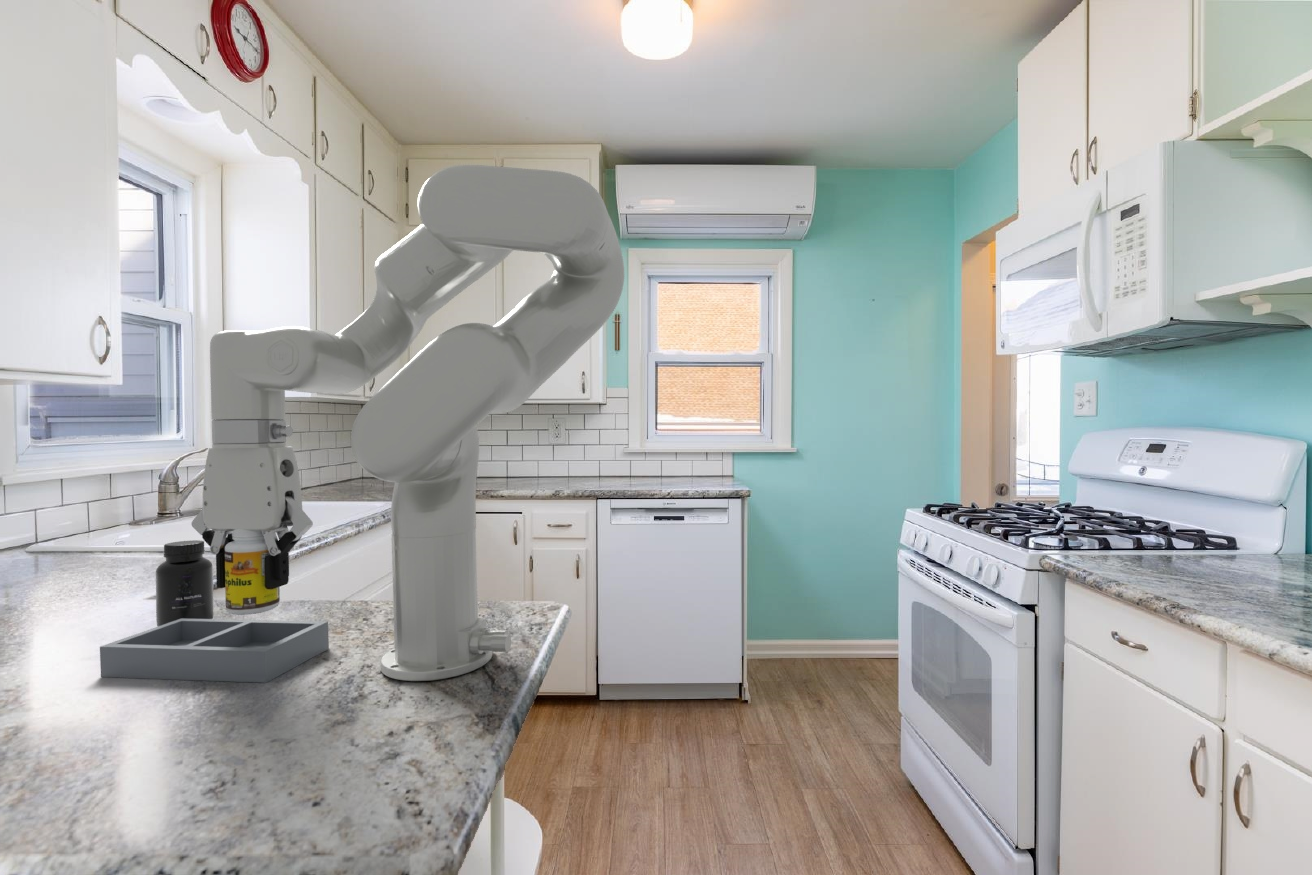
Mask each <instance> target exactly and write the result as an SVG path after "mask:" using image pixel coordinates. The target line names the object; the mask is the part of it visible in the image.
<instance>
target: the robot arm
mask: <svg viewBox="0 0 1312 875" xmlns="http://www.w3.org/2000/svg"><path fill="white" fill-rule="evenodd" d="M417 210H418V216H419V219H420V221H421V224H420V225H419V226H417V227H416V228H415V229H414V230H413V231H411V232H410V233H409V234H407V235H406V236H405V237H403V238H402V239H401V240H399V241H398V242H397V243H396V244H394V245H393V246H391V248H389V249H388V250H386V251H385V252H384V253H382V254H381V255H380V256H379V257H378V258H376V261H375V264H374V274H375V277H376V278H375V279H376V290H375V295H374V298H373V300H372V301H371V303H370V304H369V305H368V307H367V309H365V310H364V311H363V313H362V314H360V315H359V316H358V317H357V318H356V319H354V321H352V322H351V323H350V324H348V325H347V326H346V327H344V328H343V329H341V330H340V331H339V332H337V333H336V334H333V333H331V332H326V331H322V330H318V329H312V328H309V327H305V326H299V325H297V326H296V325H292V326H291V325H289V326H281V327H274V328H270V329H266V330H265V329H264V330H246V329H245V330H242V329H241V330H237V329H235V330H233V329H232V330H223V331H219V332H217V333H216V332H215V334H213V336H212V337H211V338H210V342H209V365H210V366H209V367H210V401H211V402H210V406H211V407H210V410H211V411H210V413H211V415H210V417H211V444H212V445H211V446H212V447H209V448H208V451H207V455H206V460H205V461H206V462H205V466H204V473H203V484H202V486H203V487H202V508H201V510H200V511H199V512H198V514H196V516H195V517H194V519H193V520H192V521H191V526H192V528H193V529H194V530H195V531H196V532H197V533H198V534H199V535H200V536H202V537H201V538H202V539H203V541H204V543H205V542H206V544H207V545H208V546H209V547H210V548H209V551H210V553H211V554H212V555H215V569H216V570H215V574H216V579H215V580H216V588H217V589H223V588H224V589H225V546H226V545H227V544H228V543H229V542H232V541H234V540H233V539H232V537H233V536H232V531H233V530H235V529H244V530H249V531H262V533H263V536H264V539H265V542H266V545H267V548H268V551H269V553H270V555H267V556H265V559H264V564H265V588H266V589H275V588H277V587H283V586H286V585H288V584H289V581H290V580H289V577H290V558H289V557H290V554H289V552H291V551H293V550H294V548H295V546H296V545H297V543H298V542H299V541H300V540H301V538H302V537H303V536H304V535H305V534H306V533H307V532H308V531H309V530H310V529H311V528H312V527H313V521H312V520H311V518H310V517H309V516H308V515H307V514H306V512H305V511H304V510H303V496H302V488H301V486H302V485H301V478H300V472H299V467H298V466H299V465H298V463H297V462H298V461H297V458H296V455H295V451H294V447H293V446H287V442H286V441H287V437H289V438H290V437H292V435H293V433H294V430H293V427H292V426H291V425H286V422H287V421H286V391H289V392H297V393H309V394H310V393H311V394H325V395H344V394H348V393H351V392H353V391H356V390H358V389H359V388H362V387H363V386H365V385H366V384H367V383H369V382H371V381H372V380H373V379H375V378H376V377H377V376H378V375H380V374H381V373H382V372H384V371H385V370H387V368H389V367H390V366H391V365H392V364H394V363H395V362H397V361H398V360H399V358H401V357H402V356H403V355H404V354H405V353H406V351H407V350H408V349H409V348H410V346H411V345H412V344H413V342H414V341H415V340H416V338H417V337H418V336H419V335H420V333H421V331H422V330H423V328H424V326H425V324H426V322H427V321H428V319H430V318H431V317H432V316H433V315H434V314H435V313H436V312H438V311H439V310H440V309H442V308H443V307H444V306H445V305H447V304H448V303H449V302H450V301H452V299H455V297H457V296H458V295H460V294H461V293H462V292H464V291H465V290H466V289H468V288H469V287H470V286H472V285H473V284H475V282H477V281H478V280H480V279H481V278H482V277H483V276H484V275H487V273H489V272H490V271H491V270H492V269H494V268H495V267H496V266H498V265H499V264H500V263H501V262H503V261H504V260H505V259H506V258H507V257H509V255H510V254H511V253H512V252H513V251H518V252H519V251H521V252H529V253H530V252H532V253H539V254H544V256H546V257H547V259H548V260H549V261H550V262H551V264H552V265H553V273H552V275H551V276H550V278H549V279H548V280H547V281H546V282H544V283H543V284H542V285H540V286H538V287H537V288H536V289H534V290H533V291H531V292H529V293H528V294H527V295H526V296H525V297H524V298H523V299H522V300H521V301H520V302H519V303H518V304H517V305H516V306H515V308H513V309H512V310H511V311H510V312H508V313H507V314H506V315H505V316H504V317H503V318H502V319H501V320H499V321H498V322H496V323H495V324H494V325H490V324H486V323H480V322H468V323H462V324H459V325H455V326H453V327H451V328H449V329H447V330H445V331H444V332H442V333H440V334H439V335H437V336H436V337H434V339H433V340H432V341H430V342H429V343H428V344H427V345H425V346H424V348H423V349H421V350H420V351H419V352H417V354H416V355H415V356H414V357H413V358H412V359H411V360H409V362H407V363H406V364H405V365H404V366H403V367H402V368H401V369H400V370H398V372H396V374H394V375H393V377H391V378H390V379H389V380H388V381H387V382H386V383H385V384H383V386H382V387H381V388H380V389H378V391H377V392H376V393H374V395H372V396H371V397H370V399H369V400H367V402H366V403H365V404H364V405H363V406H362V408H360V410H359V412H358V413H357V416H356V418H355V419H354V422H353V425H352V429H351V433H350V436H351V437H350V444H351V445H350V446H351V451H352V453H353V456H354V459H355V460H356V463H357V464H358V465H359V466H360V467H361V469H363V470H364V472H366V473H367V474H369V475H370V476H372V477H374V478H375V479H378V480H380V481H382V482H383V481H384V482H389V483H394V486H393V489H392V490H393V491H392V498H391V505H390V506H391V508H390V540H391V573H392V574H391V575H392V576H391V577H392V578H391V579H392V580H391V581H392V606H393V608H392V609H393V640H394V642H393V643H394V645H393V647H394V648H392V649H389V650H388V651H387V652H386V653H384V655H383V656H382V657H381V659H380V661H379V662H380V663H379V664H380V671H381V673H382V675H385V676H386V677H388V678H391V679H394V680H397V681H398V680H400V681H405V682H406V681H408V682H425V681H427V682H428V681H437V680H438V681H439V680H443V679H449V678H453V677H458V676H461V675H464V674H467V673H470V672H473V671H475V670H478V669H479V668H481V667H483V666H484V665H486V664H487V663H488V662H490V660H491V659H492V657H493V653H508V652H510V649H511V644H512V640H511V639H512V638H511V635H510V634H509V633H508V630H507V629H505V630H504V629H499V630H498V629H496V630H490V628H489V627H487V617H479V598H478V596H479V595H478V566H477V565H478V563H477V560H478V559H477V555H478V554H477V517H476V516H477V513H476V506H477V505H476V503H477V502H476V498H477V497H476V495H477V494H476V492H477V491H476V490H477V475H478V467H479V464H478V463H479V454H480V439H479V431H478V428H477V426H478V425H479V424H480V423H481V422H483V421H484V420H485V419H486V418H487V417H488V416H489V415H499V414H500V415H501V414H502V415H503V414H507V413H510V412H512V411H515V410H517V409H518V408H519V407H520V406H522V405H523V404H525V403H526V401H527V400H528V399H529V398H530V397H531V396H532V395H533V394H534V393H535V392H536V391H537V390H538V389H539V388H540V387H541V386H542V385H543V384H544V383H545V382H546V381H548V379H550V378H551V377H552V376H553V375H554V374H555V373H556V372H557V371H558V370H559V369H560V368H562V366H564V364H566V363H567V362H568V360H569V359H570V358H572V356H574V355H575V354H576V352H577V351H579V349H580V348H581V347H583V346H584V345H585V344H586V343H587V342H588V341H589V340H590V339H591V338H592V337H593V336H595V334H596V333H597V332H599V330H600V329H601V328H602V327H603V326H604V325H605V323H606V322H607V321H608V320H609V318H610V317H611V316H612V314H613V313H614V311H615V310H616V307H617V306H618V304H619V301H620V299H621V297H622V292H623V289H624V288H623V287H624V282H625V266H624V258H623V253H622V249H621V248H622V247H621V245H620V242H619V238H618V235H617V232H616V229H615V227H614V226H615V225H614V224H613V221H612V219H611V217H610V214H609V212H608V209H607V207H606V204H605V201H604V200H603V198H602V196H601V194H600V193H599V192H598V190H597V189H596V188H595V187H594V185H592V184H591V183H590V182H588V181H586V180H585V179H584V178H583V177H580V176H578V175H576V174H572V173H569V172H564V171H557V170H548V169H546V170H545V169H537V168H536V169H535V168H534V169H533V168H520V167H508V166H497V165H496V166H495V165H482V164H481V165H479V164H463V165H461V164H460V165H459V164H458V165H453V166H449V167H445V168H443V169H441V170H438V171H436V172H435V173H434V174H432V175H431V176H430V177H429V178H428V179H427V180H426V181H425V182H424V184H423V185H422V186H421V189H420V191H419V194H418V197H417ZM288 527H291V528H290V529H289V528H288Z"/></svg>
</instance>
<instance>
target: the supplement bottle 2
mask: <svg viewBox="0 0 1312 875" xmlns="http://www.w3.org/2000/svg"><path fill="white" fill-rule="evenodd" d="M232 536H233V537H232V539H233V540H234V541H232V542H229V543H228V544H227V545H226V546H225V588H224V589H225V590H224V591H225V594H224V595H225V610H226V612H228V613H229V614H231V615H236V616H237V615H238V616H240V615H241V616H243V615H244V616H245V615H246V616H247V615H255V614H261V613H266V612H269V611H272V610H274V609H275V608H277V607H278V606H279V605H280V602H281V601H280V600H281V599H280V598H281V597H280V591H281V590H280V587H281V586H280V587H277V588H275V589H266V588H265V564H264V559H265V556H267V555H270V553H269V551H268V548H267V545H266V542H265V539H264V536H263V533H262V531H249V530H244V529H235V530H233V531H232Z"/></svg>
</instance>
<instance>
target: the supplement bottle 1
mask: <svg viewBox="0 0 1312 875" xmlns="http://www.w3.org/2000/svg"><path fill="white" fill-rule="evenodd" d="M204 554H206V550H205V541H204V540H199V539H198V540H196V539H195V540H182V541H181V540H180V541H174V542H168V543H165V544H163V558H165V560H164V561H163V562H162V563H160V564H159V565H158V566H157V568H156V569H155V609H156V611H155V613H156V615H155V618H156V627H158V626H161V625H164V624H167V623H170V622H173V621H176V620H178V619H181V618H183V619H214V568H213V567H214V566H213V563H212V561H211V560H210V559H208V558H206V557H204Z"/></svg>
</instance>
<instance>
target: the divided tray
mask: <svg viewBox="0 0 1312 875" xmlns="http://www.w3.org/2000/svg"><path fill="white" fill-rule="evenodd" d="M329 640H330V639H329V621H324V620H323V621H321V620H319V621H318V620H317V621H316V620H315V621H313V620H312V621H311V620H274V619H273V620H270V619H269V620H267V619H264V620H263V619H225V618H213V619H183V618H181V619H178V620H176V621H173V622H170V623H167V624H164V625H161V626H158V627H157V626H155V627H152V628H150V629H146V630H143V631H141V632H138V633H136V634H132V635H129V636H127V637H126V636H125V637H123V638H121V639H117V640H115V641H113V642H110V643H106V644H104V645H101V646H99V661H100V663H99V664H100V665H99V666H100V678H121V679H122V678H123V679H148V680H149V679H150V680H153V679H154V680H182V681H185V680H186V681H205V682H208V681H209V682H210V681H211V682H239V683H261V684H262V683H265V684H266V683H268V682H270V681H272V680H274V679H276V678H277V677H279V676H281V675H284V674H285V673H287V672H288V671H290V670H292V669H294V668H296V667H297V666H300V665H301V664H303V663H305V662H307V661H310V660H311V659H312V658H315V657H317V656H318V655H320V654H321V653H324V652H325V651H326V652H327V650H329V649H330V647H329V645H330V644H329V642H330V641H329Z"/></svg>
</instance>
